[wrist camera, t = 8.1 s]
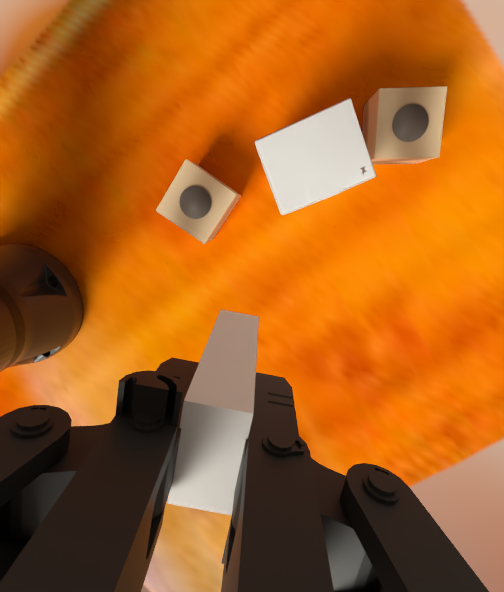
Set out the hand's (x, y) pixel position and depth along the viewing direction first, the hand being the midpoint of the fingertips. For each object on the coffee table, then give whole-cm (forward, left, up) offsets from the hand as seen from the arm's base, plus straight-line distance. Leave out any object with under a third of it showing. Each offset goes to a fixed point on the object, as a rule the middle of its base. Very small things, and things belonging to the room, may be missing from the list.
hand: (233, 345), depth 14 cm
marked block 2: (+10, +16, -30) cm, 35 cm away
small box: (+2, +10, -30) cm, 32 cm away
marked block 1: (-8, +4, -30) cm, 31 cm away
